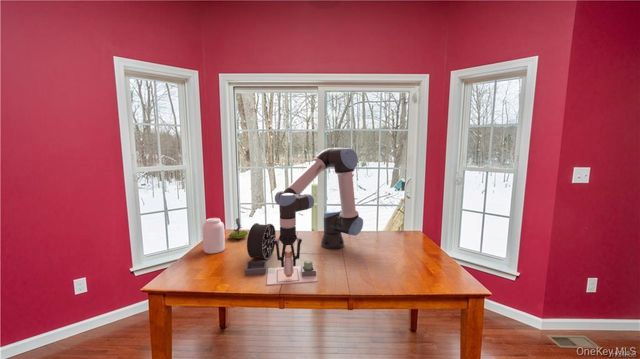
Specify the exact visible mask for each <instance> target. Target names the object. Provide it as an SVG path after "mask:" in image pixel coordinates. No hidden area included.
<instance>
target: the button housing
mask: <svg viewBox="0 0 640 359" xmlns="http://www.w3.org/2000/svg"><path fill="white" fill-rule="evenodd" d="M300 266H301V274H302V277H305V276H316V277H317V271H316V267H315V264H313V270H310V271H304V265H300Z"/></svg>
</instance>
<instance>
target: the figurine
mask: <svg viewBox="0 0 640 359" xmlns="http://www.w3.org/2000/svg"><path fill="white" fill-rule="evenodd" d="M235 223H236V225H237V228H236V229H233V231H234V232H233V231H232V232H230V233H229V235H228V237H230V238H231V239H232V238H234V239H235V240H236V239H237V240H239V239H242V238H244V237H246V236H248V234H249V232H248V231H247V230H240V229H242V227H241V223H240V217H239V218H236V219H235Z"/></svg>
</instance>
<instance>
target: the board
mask: <svg viewBox="0 0 640 359" xmlns="http://www.w3.org/2000/svg"><path fill="white" fill-rule="evenodd" d="M301 266H302V265H296V266H293V272H294V274H292V276H291V277H286V276H285V274H284V267H280V266H278V267H267V275H266V276H267V277H266V278H267V280H266V286H276V285H290V284H291V285H292V284H304V283H316V282H318V278H317V275H316V276H305V277H302V274H301Z"/></svg>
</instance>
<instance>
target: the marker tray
mask: <svg viewBox="0 0 640 359" xmlns="http://www.w3.org/2000/svg"><path fill="white" fill-rule="evenodd" d="M244 271H245V274H244V276H256V275H266V273H267V259H264V260H253V261H251V260H250V261H247V262H246V266H245V270H244Z"/></svg>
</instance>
